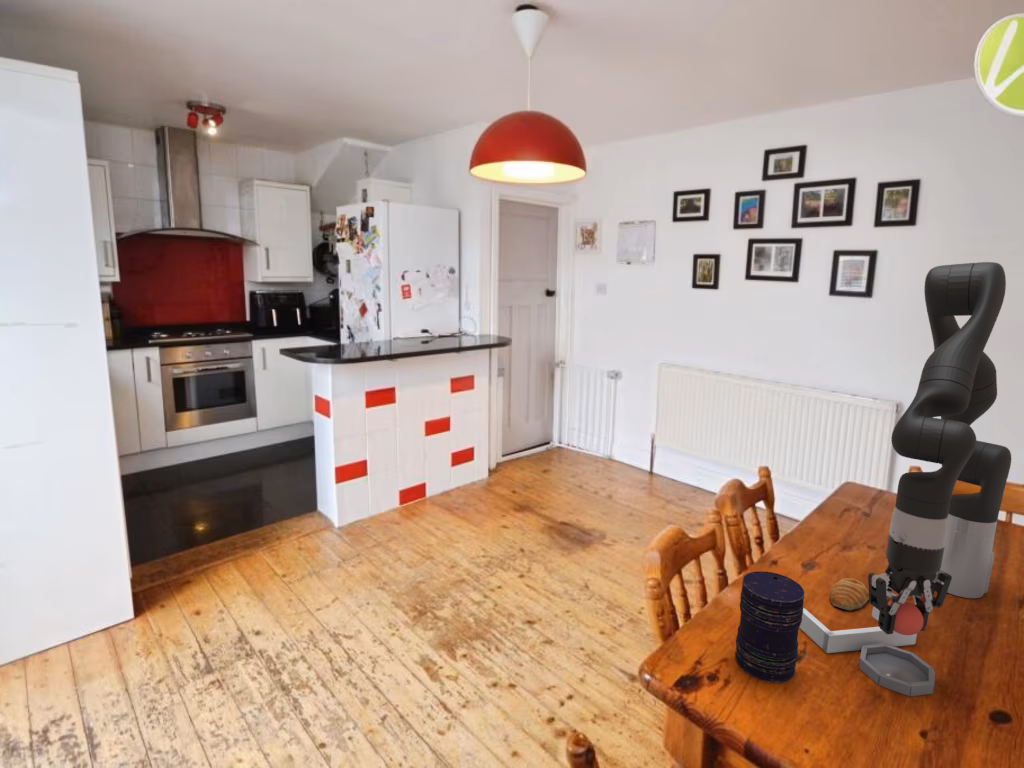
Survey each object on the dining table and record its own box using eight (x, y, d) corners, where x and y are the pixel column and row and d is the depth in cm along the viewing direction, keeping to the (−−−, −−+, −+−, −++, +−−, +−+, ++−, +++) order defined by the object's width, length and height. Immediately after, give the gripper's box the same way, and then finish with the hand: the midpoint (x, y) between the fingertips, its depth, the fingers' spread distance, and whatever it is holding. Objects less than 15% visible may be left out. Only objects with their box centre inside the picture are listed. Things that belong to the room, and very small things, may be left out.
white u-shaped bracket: (877, 615, 115) (879, 599, 114) (915, 644, 106) (918, 627, 105) (794, 623, 112) (796, 606, 111) (827, 653, 103) (829, 635, 102)
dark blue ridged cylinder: (791, 691, 93) (802, 608, 90) (729, 669, 98) (736, 590, 95) (798, 657, 102) (808, 581, 99) (740, 638, 107) (747, 565, 104)
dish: (897, 650, 104) (898, 641, 104) (949, 691, 94) (950, 682, 93) (845, 656, 102) (847, 647, 102) (892, 698, 92) (894, 688, 92)
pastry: (858, 618, 114) (860, 600, 113) (821, 604, 119) (823, 587, 118) (870, 600, 121) (873, 583, 120) (835, 587, 125) (837, 571, 125)
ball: (901, 621, 100) (906, 592, 99) (929, 641, 94) (934, 610, 93) (873, 623, 99) (878, 594, 98) (899, 643, 93) (905, 613, 92)
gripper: (934, 524, 98) (919, 614, 101) (860, 529, 96) (847, 620, 99) (976, 545, 91) (958, 640, 94) (896, 550, 88) (881, 647, 92)
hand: (901, 629), depth 96 cm, fingers closed on ball, 5 cm apart
